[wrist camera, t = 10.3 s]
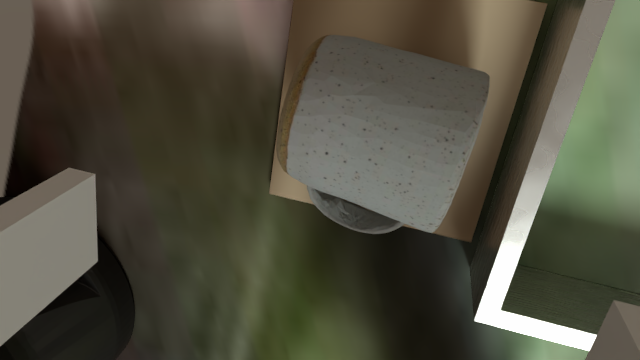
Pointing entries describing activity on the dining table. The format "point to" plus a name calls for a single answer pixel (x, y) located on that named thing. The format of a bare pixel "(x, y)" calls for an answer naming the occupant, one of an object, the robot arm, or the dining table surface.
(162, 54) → the dining table surface
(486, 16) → the cork pad
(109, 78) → the dining table surface
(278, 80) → the dining table surface
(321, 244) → the dining table surface
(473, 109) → the ceramic mug
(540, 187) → the equipment case
